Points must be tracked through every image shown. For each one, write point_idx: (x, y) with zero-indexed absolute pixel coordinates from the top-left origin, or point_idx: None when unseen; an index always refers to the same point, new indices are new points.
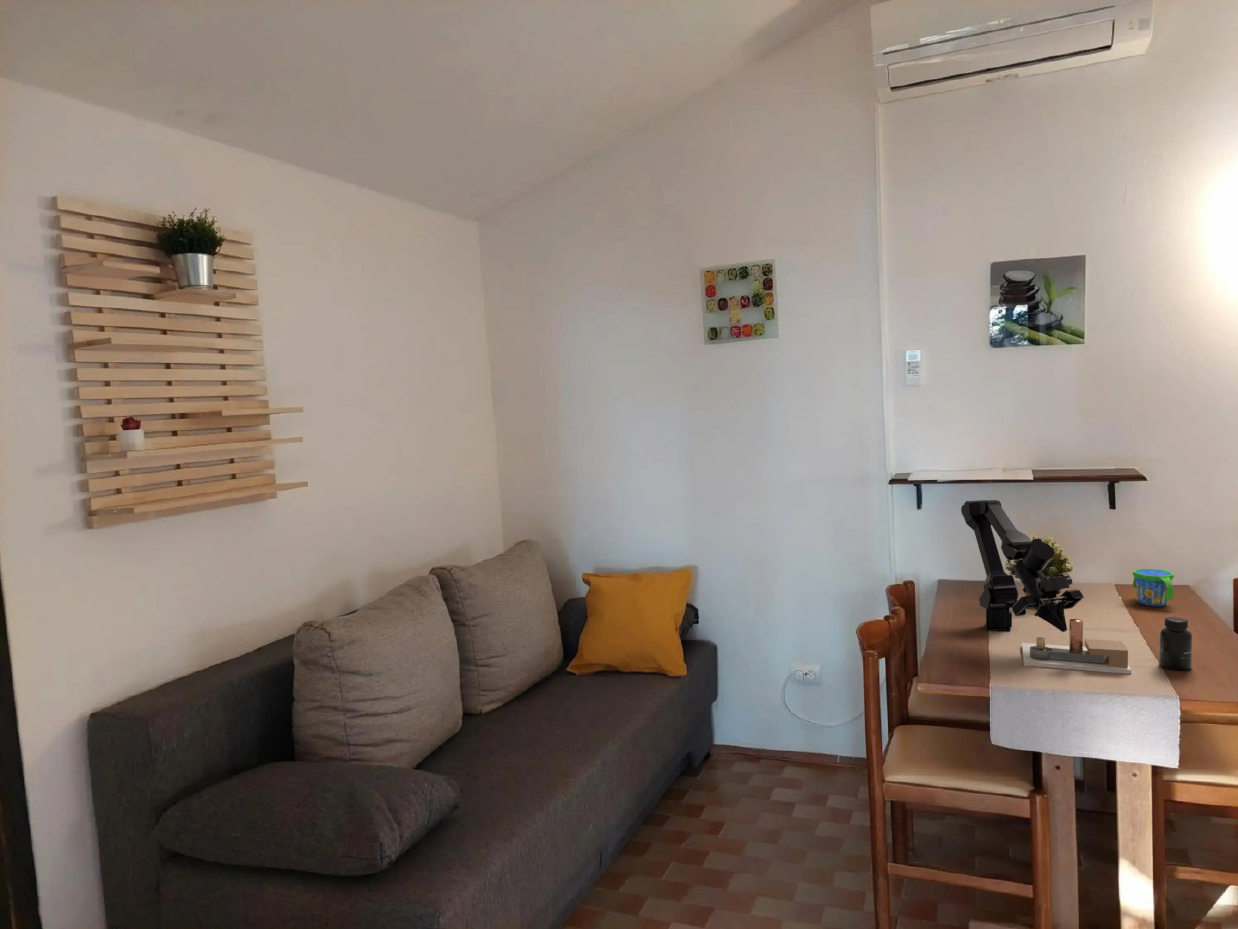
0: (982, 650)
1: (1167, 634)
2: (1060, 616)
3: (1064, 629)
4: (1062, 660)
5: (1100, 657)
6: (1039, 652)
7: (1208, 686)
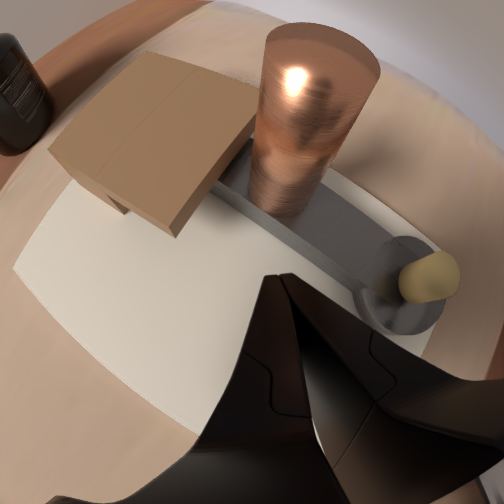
0: None
1: (9, 42)
2: (301, 363)
3: (293, 274)
4: None
5: None
6: (429, 250)
7: (102, 30)
